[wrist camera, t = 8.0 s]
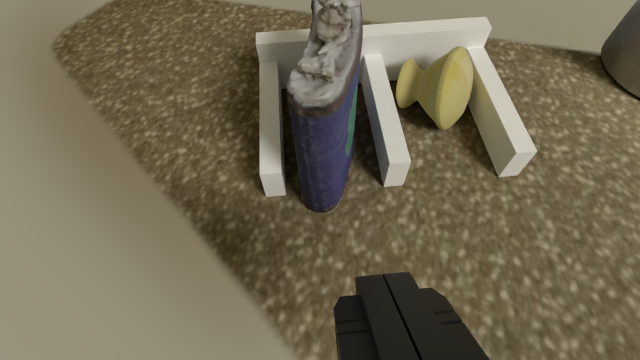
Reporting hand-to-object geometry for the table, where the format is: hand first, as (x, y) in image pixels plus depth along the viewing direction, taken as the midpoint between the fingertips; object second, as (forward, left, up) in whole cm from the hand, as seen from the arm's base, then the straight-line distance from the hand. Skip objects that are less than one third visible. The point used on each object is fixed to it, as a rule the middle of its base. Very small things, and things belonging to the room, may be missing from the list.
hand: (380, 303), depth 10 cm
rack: (-3, -14, -8) cm, 17 cm away
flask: (0, -12, -9) cm, 14 cm away
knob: (-7, -15, -9) cm, 18 cm away
